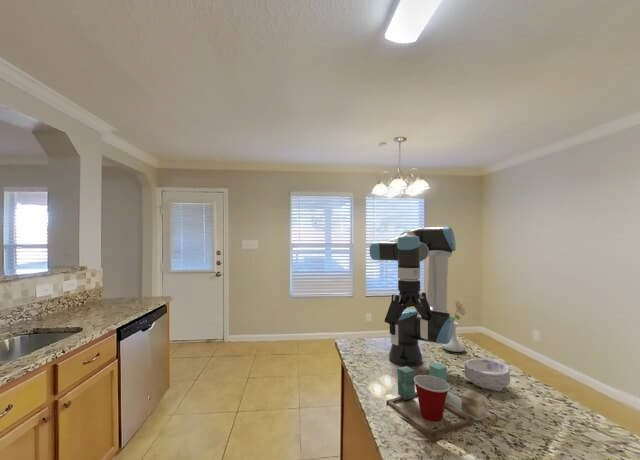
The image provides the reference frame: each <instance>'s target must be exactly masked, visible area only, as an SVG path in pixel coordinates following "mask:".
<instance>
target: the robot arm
mask: <svg viewBox="0 0 640 460" xmlns="http://www.w3.org/2000/svg"><path fill="white" fill-rule="evenodd" d="M456 250H457V244H456V237H455V234H454V229H453V228H452V227H449V226H434V227H431V226H430V227H428V226H427V227H416V228H412V229H409V230H406V231H403V232H401V233H400V235H398V236H396V237H393V238H391V239H387V240H385V241H384V240H383V241H373V242H371V243H370V246H369V257H370V258H371V260H373V261H395V262H396V261H397V278H398V280H397V290H398V291H399V294H394V293H392V295H391V301H390V305H389V307H388V309H387V311H386V315H385V318H384V323H386V324H388V326H389V334H390V343H391V345H390V346H391V347H390V349H389V353H388V359H389V361H390V362H392V363H393V364H395V365H396V364H397V365H399V366H404V367H405V366H407V367H414V366H418V365H422V364H423V355H422V353H421V349H420V346H419V345H420V344H419V341H422V342H429V343H434V344H437V345H438V344H441V345H442V344H448V343H449V342H450V340H451V337H452V333H453V327H454V322H455V320H453V318H454V317H453V318H451V317H452V316H451V313H450V311H448V309H447V305H448V304H447V299H448V298H447V297H448V275H449V274H448V273H449V272H448V271H449V258H451V257H452V255H453V252H455V251H456ZM427 258H428V270H427V271H428V272H427V287H426V290H427V291H426V292H422V291H421V281H420V279H421V262H423V261H424V260H425V259H427ZM411 307H414V308H411Z"/></svg>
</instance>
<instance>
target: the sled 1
mask: <svg viewBox="0 0 640 460" xmlns="http://www.w3.org/2000/svg"><path fill="white" fill-rule="evenodd" d="M415 371H416V370H415V369H413V368H411V367H410V366H405V365H404V366H402V367H398V368H397V395H398V396H397V397H395V398H390V399H387V400H386V402H385V404H386V407H387V406H389V407H391V409H393V410H395V411H396V412H398V414H400V415H401V416H400V415H398V417H399V418H400V419H402V420H403V421H404V422H406V423H407V424H408V425H410V426H411V427H412V428H414V429H415V430H416V431H418V432H419V433H420V434H421V435H422V436H423V437H424V438H426V439H428V440H429V441H430V442H432V444H435V443H437V442H439V441H440V442H441V441H442V440H444V438H443V437H442V436H445V435H448V434H449V433H452V432H454V431H457V430H460V429H461V428H464V427H468V426H470V425H472V424H474V423H475V422H474V420H475V419H473V418H471V417H470V416H468V415H466V414H465V415H464V413H463V412H461V411H460V412H459V410H458V409H456V408H455V409H454V407H453V406H451V405H449V404H447V403H446V402H445V407H444V409H446V410H447V411H448V412H451V414H454V415H456V416H457V417H459V418H460V419H462V420H461V421H459V422H456V423H453V424H450V425H448V426H445V427H442V428H440V429H438V430H435V431H433V430H431V429H430V428H428V427H427V426H426V425H424V424H423V423H422V422H420V421H419V420H418V419H416V418H415V417H414V416H412V415H411V414H410V413H408V412H407V411H405V410H404V409H403V408H402V407H400V406H398V405H397V404H396V403H400V402H403V401H407V400H411V399H413V398H418V395H417V391H416V385H415V382H414V377H415V376H416V375H415V374H416V373H415ZM469 417H470V418H469Z"/></svg>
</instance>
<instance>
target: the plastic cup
mask: <svg viewBox="0 0 640 460" xmlns="http://www.w3.org/2000/svg"><path fill="white" fill-rule="evenodd" d="M414 382H415V391H416V392H417V395H418V396H417V400H418V406H419V410H420V411H419V412H420V415H421V417H422V418H423V419H424V420H426V421H428V422H434V423H435V422H441V421H442V420H443V416H444V413H445V412H444V411H445V408H444V407H445V403H446V402H445V401H446V396H447V393H448V391H449V392H450V389H451V385H450V384H449V382H446V381H444V380H442V379H440V378H438V377H434V376H430V374H429V375H428V374H418V375H415V377H414Z"/></svg>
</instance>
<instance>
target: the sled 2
mask: <svg viewBox="0 0 640 460" xmlns="http://www.w3.org/2000/svg"><path fill="white" fill-rule="evenodd" d="M429 376H434V377H438V378H440V379H442V380H444V381H446V382H447V366H445V365H442V364H440V363H439V362H437V363H433V364H430V365H429ZM447 383H448V382H447ZM445 403H446V404H448V405H449V406H451V407H453V408H455V409H456V410H458V411H460V412H461V413H463V414H465V415H466V416H468V417H470V418H471V419H473V420H475V421H476V422H478V421H480V420H484V419H486V418H489V417H491V416H492V414H491V413H489V412H487V411H486V410H485V412H484V413H483V414H482V415H481V416H480V417H475V416H473V415H471V414H468V413H466V412H463V411H462V402H461V397H460V396H458V395H456V394H455V393H453V392H451V391H450V390H449V391H448V393H447V396H446V401H445Z"/></svg>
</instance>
